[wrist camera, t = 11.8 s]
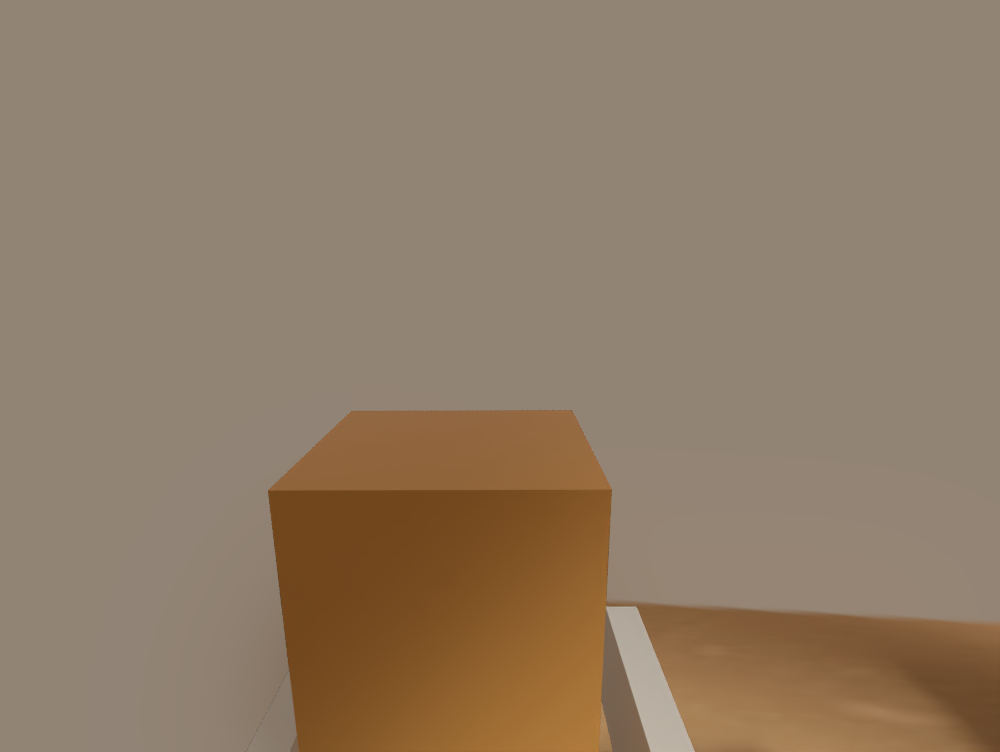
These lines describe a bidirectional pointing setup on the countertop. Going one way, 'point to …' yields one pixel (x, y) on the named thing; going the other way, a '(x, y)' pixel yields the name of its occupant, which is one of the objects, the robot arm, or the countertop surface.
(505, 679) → the switch handle
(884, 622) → the countertop surface
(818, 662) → the countertop surface
